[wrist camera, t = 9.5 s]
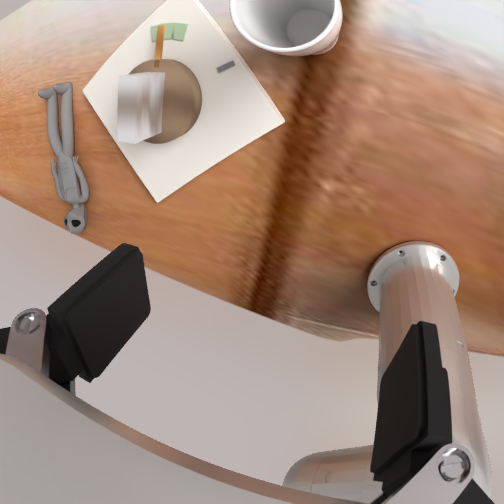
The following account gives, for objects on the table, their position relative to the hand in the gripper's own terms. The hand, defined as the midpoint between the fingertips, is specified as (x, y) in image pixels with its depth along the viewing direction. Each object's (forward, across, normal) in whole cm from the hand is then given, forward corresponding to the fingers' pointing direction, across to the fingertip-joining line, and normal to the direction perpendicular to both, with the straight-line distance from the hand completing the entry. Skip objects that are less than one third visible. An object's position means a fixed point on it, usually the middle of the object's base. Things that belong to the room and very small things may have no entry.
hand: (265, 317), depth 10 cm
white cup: (+27, +4, -12) cm, 30 cm away
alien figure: (+27, +39, +6) cm, 48 cm away
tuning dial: (+25, +20, -5) cm, 32 cm away
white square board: (+26, +20, -3) cm, 33 cm away
